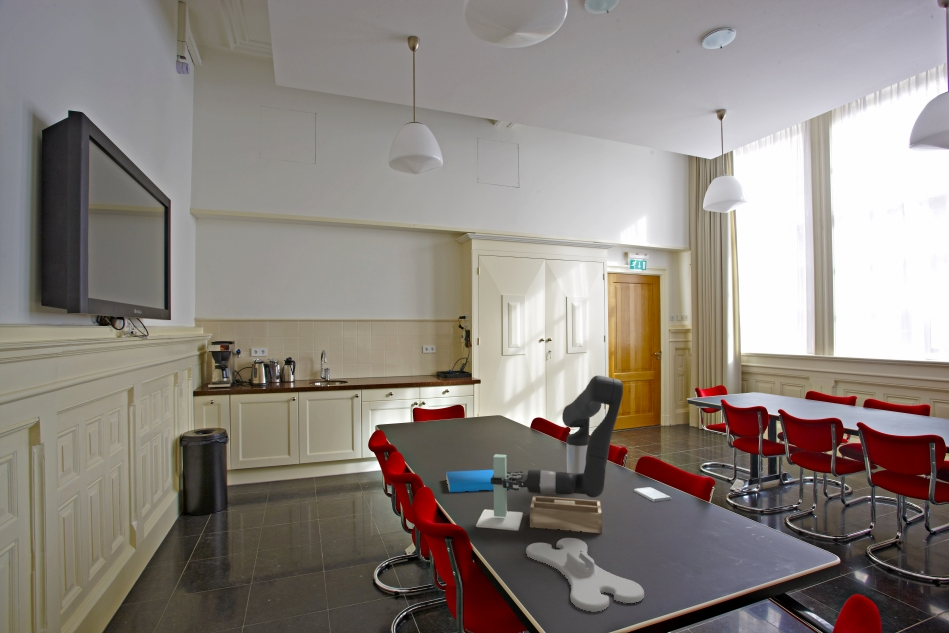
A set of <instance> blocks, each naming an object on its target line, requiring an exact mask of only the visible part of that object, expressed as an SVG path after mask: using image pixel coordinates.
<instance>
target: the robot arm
mask: <svg viewBox="0 0 949 633" xmlns="http://www.w3.org/2000/svg"><path fill="white" fill-rule="evenodd" d="M623 394H624V384H623V382H622V381H621V379H617V378H614V377H608V376H605V375H595V376H593V377H592V378H591V379H590V380H589V381H588V384H587V385H586V387H585V388H584V390H583V391H582V392H581V393H580V394H578V396H577V397H576V398H575V400H573V401H572V402H571V403H569V404H567V405H566V406H565V407H564V408H563V410H562V417H561V418H562V422H563V424H564V425H565V427H568V428H579V429H578V430H577V431H576V432H572V433H571V434H568V435H567V437H566V472H563V471H553V470H541V469H528V471H527V474H525V473H524V472H523V470H521V471H520V470H519V471H507V478H497V477H494V474H493V477H491V484H495V485H502V486H503V488H507V489H509V490H512V491H516V492H517V491H520V489H523V488H526V490H527V492H528V494H537V495H538V494H540V495H572V494H575V495H576V494H577V495H586V496H587V497H589V498H597V497H599V496H601V495H602V493H603V491H604V488H605V481H606V469H607V468H606V466H607V463H608V458H609V453H610V444H611V440H612V436H613V432H614V429H615V426H616V421H617V419H618V414H619V410H620V408H621V403H622V400H623ZM602 404H603V405H606V406H607V405H608V409H607V412H606V415H605V417H604V418H603V419H602V421H601V422H600V423H599V424H598V425H597V426H596V428H595V429H594V430H592V433H591V434H590V421H591V420H590V418H592V417H594V416H595V415H597V414H598V413H599V412H600V410H601V408H602ZM506 482H507V483H508V484H506Z"/></svg>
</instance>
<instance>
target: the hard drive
mask: <svg viewBox="0 0 949 633" xmlns="http://www.w3.org/2000/svg"><path fill="white" fill-rule="evenodd" d="M633 492H634V493H637V494H638V495H640V496H642V497H644V498H646V499H647V500H649V501H651V502H653V503H656V502H663V501H664V502H665V501H671V500H673V498H672V496H670V495H667V494H666V493H663V492H661V491H659V490H657V489H655V488H653V487H651V486H649V487H637V488H634V489H633Z"/></svg>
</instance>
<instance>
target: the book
mask: <svg viewBox="0 0 949 633" xmlns="http://www.w3.org/2000/svg"><path fill="white" fill-rule="evenodd" d="M445 474H446V476H445V478H446V480H447V481H446V480H445V481H446V484H448V485H447V488H448V491H449V493H466V492H465V491H469V492H480V491H479V490H489V491H494V484H491V477H493V474H494V472H493V469H483V470H482V469H480V470H460V471H458V470H457V471H456V470H455V471H446V473H445ZM507 484H508V483H507Z"/></svg>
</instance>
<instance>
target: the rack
mask: <svg viewBox="0 0 949 633" xmlns="http://www.w3.org/2000/svg"><path fill="white" fill-rule="evenodd" d="M554 500H563V501H575V504H562V503H554ZM602 513H603V512H602V507H601V500H595V499H581V498H568V497H556V496H555V497H554V496H553V497H552V496H542V495H540V496H539V495H532V500H531V504H530V507H529V528H534V527H535V528H537V529H546V528H547V529H548V530H557V529H560V530H561V531H569V530H571V532H580V531H582V533H592V534H593V533H595V534H603V514H602ZM547 529H546V530H547Z"/></svg>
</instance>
